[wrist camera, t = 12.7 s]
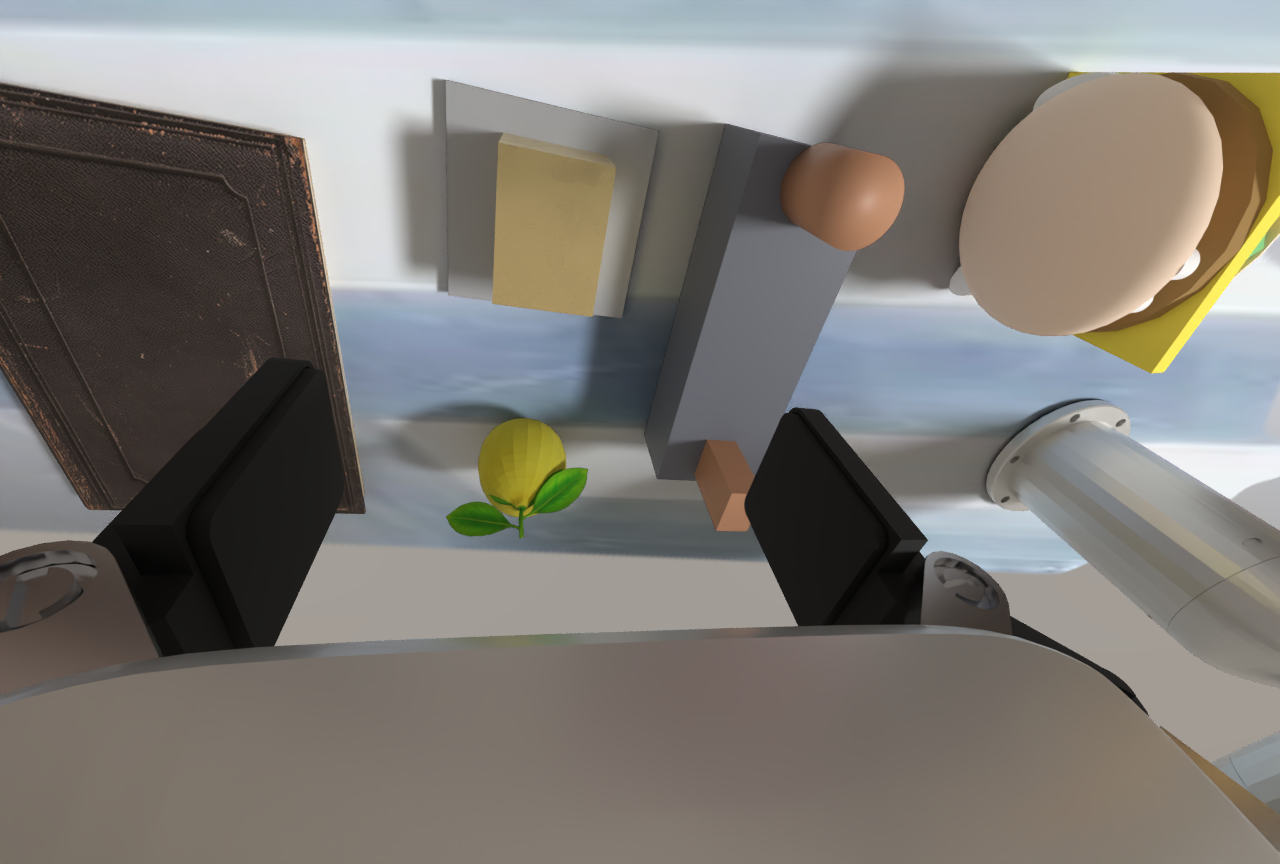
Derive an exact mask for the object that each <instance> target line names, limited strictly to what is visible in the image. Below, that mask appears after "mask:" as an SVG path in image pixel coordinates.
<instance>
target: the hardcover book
mask: <svg viewBox="0 0 1280 864" xmlns="http://www.w3.org/2000/svg"><path fill="white" fill-rule="evenodd" d="M271 357H278V358H288V359H298V360H309V361H310V362H311V363H312V364H313V366H314V369H320V370H323V371H324V373H325V376H326V380H327V386H328V392H329V398H330V403H331V409H332V415H333V421H334V426H335V432H336V438H337V444H338V449H339V455H340V461H341V467H342V472H343V478H344V492H343V497H342V500H341V502H340V504H339V506H338V509H337V511H336V513H342V514H365V512H366V510H365V504H364V498H363V497H364V494H365V493H364V487H363V481H362V475H361V469H360V463H359V457H358V451H357V445H356V439H355V433H354V427H353V421H352V415H351V409H350V403H349V398H348V392H347V386H346V380H345V374H344V368H343V362H342V356H341V350H340V344H339V338H338V332H337V326H336V320H335V314H334V308H333V302H332V296H331V290H330V284H329V278H328V272H327V266H326V261H325V255H324V249H323V243H322V237H321V231H320V225H319V219H318V213H317V207H316V201H315V195H314V189H313V183H312V177H311V171H310V165H309V159H308V153H307V147H306V141H305V139H304V138H300V137H294V136H289V135H283V134H278V133H272V132H267V131H261V130H256V129H251V128H245V127H240V126H234V125H229V124H223V123H218V122H212V121H207V120H201V119H196V118H191V117H185V116H180V115H174V114H169V113H163V112H158V111H152V110H147V109H141V108H136V107H131V106H125V105H120V104H114V103H109V102H103V101H98V100H92V99H87V98H81V97H76V96H71V95H65V94H60V93H54V92H49V91H43V90H38V89H32V88H27V87H21V86H16V85H11V84H5V83H0V369H1V370H2V372H3V373H4V375H5V377H6V378H7V380H8V382H9V383H10V385H11V386H12V388H13V390H14V391H15V393H16V395H17V396H18V398H19V400H20V401H21V403H22V404H23V406H24V408H25V409H26V411H27V413H28V414H29V416H30V417H31V419H32V421H33V422H34V424H35V426H36V427H37V429H38V430H39V432H40V434H41V435H42V437H43V439H44V440H45V442H46V444H47V445H48V447H49V448H50V450H51V452H52V453H53V455H54V457H55V458H56V460H57V461H58V463H59V465H60V466H61V468H62V470H63V471H64V473H65V475H66V476H67V478H68V479H69V481H70V483H71V484H72V486H73V488H74V489H75V491H76V492H77V494H78V496H79V497H80V499H81V501H82V502H83V504H84V506H85V507H86V508H87V509H89V510H123V509H124V508H125V507H126V506H127V505H128V504H129V503H130V502H131V500H132V499H133V498H134V497H135V496H136V495H137V494H138V493H139V492H140V491H141V490H142V489H143V488H144V487H145V486H146V485H147V484H148V483H149V482H150V480H151V479H152V478H153V477H154V476H155V475H156V474H157V473H158V472H159V471H160V470H161V469H162V468H163V467H164V466H165V465H166V464H167V463H168V462H169V460H170V459H171V458H172V457H173V456H174V455H175V454H176V453H177V452H178V451H179V450H180V449H181V448H182V447H183V446H184V445H185V444H186V443H187V442H188V440H189V439H190V438H191V437H192V436H193V435H194V434H195V433H196V432H198V431H199V430H200V429H202V428H203V427H204V426H205V425H206V424H207V423H208V422H209V421H210V420H211V419H212V418H213V417H214V416H215V415H216V414H217V413H218V412H219V410H220V409H221V408H222V407H223V406H224V405H225V404H226V403H227V402H228V401H229V400H230V399H231V398H232V397H233V396H234V395H235V393H236V392H237V391H238V390H239V389H240V388H241V387H242V386H243V385H244V384H245V383H246V382H247V381H248V380H249V379H250V378H251V377H252V375H253V374H254V373H255V372H256V371H257V370H258V369H259V368H260V367H261V366H262V365H263V364H264V363H265V362H266V361H267V360H268V359H269V358H271Z"/></svg>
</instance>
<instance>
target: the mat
mask: <svg viewBox="0 0 1280 864" xmlns="http://www.w3.org/2000/svg"><path fill="white" fill-rule="evenodd" d="M503 133H508V134H512V135H517V136H521V137H526V138H530V139H535V140H540V141H544V142H549V143H553V144H558V145H563V146H567V147H572V148H576V149H581V150H585V151H590V152H595V153H599V154H604V155H607V157H608V158H609V159H610V160H611V161H612V163H613V164H614V165H615V166H616V173H615V180H614V186H613V192H612V198H611V205H610V211H609V217H608V223H607V230H606V236H605V242H604V248H603V255H602V261H601V267H600V273H599V279H598V286H597V292H596V298H595V304H594V311H593V315H599V316H607V317H614V318H622V315H623V310H624V305H625V300H626V295H627V290H628V285H629V280H630V275H631V270H632V265H633V260H634V254H635V249H636V244H637V239H638V234H639V229H640V224H641V219H642V214H643V209H644V204H645V199H646V194H647V189H648V184H649V179H650V174H651V169H652V164H653V159H654V154H655V149H656V144H657V139H658V134H659V131H657V130H653V129H649V128H645V127H641V126H637V125H632V124H628V123H624V122H620V121H616V120H612V119H608V118H603V117H599V116H595V115H591V114H587V113H583V112H578V111H574V110H570V109H566V108H562V107H558V106H553V105H549V104H545V103H541V102H537V101H533V100H528V99H524V98H520V97H516V96H512V95H508V94H503V93H499V92H495V91H491V90H487V89H483V88H478V87H474V86H470V85H466V84H462V83H458V82H454V81H449V80H446V147H447V226H448V295H450V296H457V297H465V298H472V299H480V300H487V301H492V296H493V269H494V243H495V216H496V190H497V163H498V142H499V140H500V138H501V136H502V135H503Z"/></svg>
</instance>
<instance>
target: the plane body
mask: <svg viewBox="0 0 1280 864" xmlns="http://www.w3.org/2000/svg"><path fill="white" fill-rule="evenodd" d="M904 190H905V186H904V178H903V175H902V172H901V170H900V168H899V167H898V165H897V164H896V163H895V162H894V161H893V160H891V159H890V158H888V157H885V156H882V155H878V154H874V153H870V152H866V151H862V150H858V149H854V148H849V147H845V146H841V145H837V144H833V143H819V144H816V145H813V146H812V145H808V144H804V143H800V142H796V141H792V140H788V139H784V138H781V137H777V136H773V135H769V134H765V133H761V132H757V131H753V130H749V129H745V128H741V127H737V126H733V125H729V124H725V128H724V132H723V136H722V139H721V143H720V147H719V151H718V155H717V158H716V162H715V166H714V170H713V174H712V177H711V181H710V185H709V189H708V193H707V196H706V200H705V204H704V208H703V212H702V215H701V219H700V223H699V227H698V231H697V234H696V238H695V242H694V246H693V250H692V254H691V257H690V261H689V265H688V269H687V273H686V276H685V280H684V284H683V288H682V292H681V295H680V299H679V303H678V307H677V311H676V314H675V318H674V322H673V326H672V330H671V333H670V337H669V341H668V345H667V349H666V352H665V356H664V360H663V364H662V368H661V372H660V375H659V379H658V383H657V387H656V391H655V394H654V398H653V402H652V406H651V410H650V413H649V417H648V421H647V425H646V429H645V432H644V436H645V440H646V443H647V446H648V450H649V453H650V456H651V460H652V463H653V467H654V470H655V473H656V477H657V479H669V480H689V481H697V483H698V486H699V488H700V491H701V493H702V496H703V499H704V501H705V504H706V506H707V509H708V511H709V514H710V516H711V519H712V522H713V524H714V527H715V529H716V531H747V530H748V528H749V526H750V522H749V520H748V518H747V515H746V513H745V509H744V502H745V498H746V495H747V493H748V491H749V489H750V486H751V484H752V482H753V480H754V477H755V475H756V473H757V471H758V468H759V466H760V464H761V462H762V459H763V457H764V455H765V453H766V450H767V448H768V446H769V444H770V442H771V439H772V437H773V435H774V433H775V430H776V428H777V426H778V424H779V421H780V419H781V417H782V416H783V414H784V412H785V410H786V408H787V405H788V403H789V401H790V399H791V397H792V394H793V392H794V390H795V388H796V385H797V383H798V381H799V379H800V376H801V374H802V372H803V370H804V368H805V365H806V363H807V361H808V359H809V356H810V354H811V352H812V350H813V347H814V345H815V343H816V341H817V339H818V336H819V334H820V332H821V330H822V327H823V325H824V323H825V321H826V318H827V316H828V314H829V312H830V310H831V307H832V305H833V303H834V301H835V298H836V296H837V294H838V292H839V289H840V287H841V285H842V283H843V280H844V278H845V276H846V274H847V272H848V269H849V267H850V265H851V263H852V260H853V258H854V256H855V254H856V251H857V250H859V249H862V248H864V247H867V246H869V245H870V244H872V243H874V242H875V241H876V240H878V239H879V238H880V237H881V236H882V235H884V233H885V232H886V231H887V230H888V229H889V228H890V227H891V225H892V224H893V222H894V221H895V219H896V217H897V215H898V213H899V211H900V209H901V206H902V202H903V198H904Z"/></svg>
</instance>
